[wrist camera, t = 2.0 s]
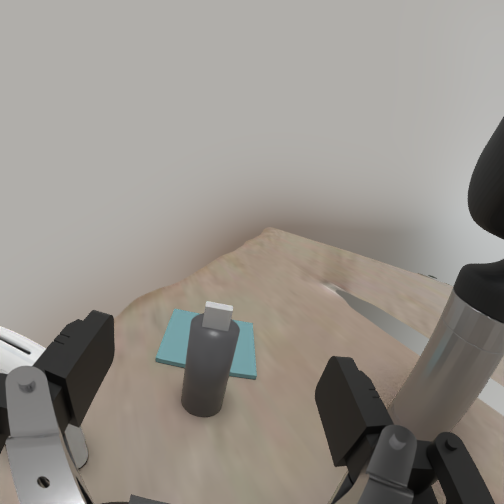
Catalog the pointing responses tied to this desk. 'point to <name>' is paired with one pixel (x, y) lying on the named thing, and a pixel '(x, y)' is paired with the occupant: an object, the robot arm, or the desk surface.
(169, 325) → the teal mat
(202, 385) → the grey capped bottle
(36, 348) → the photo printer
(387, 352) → the desk surface
